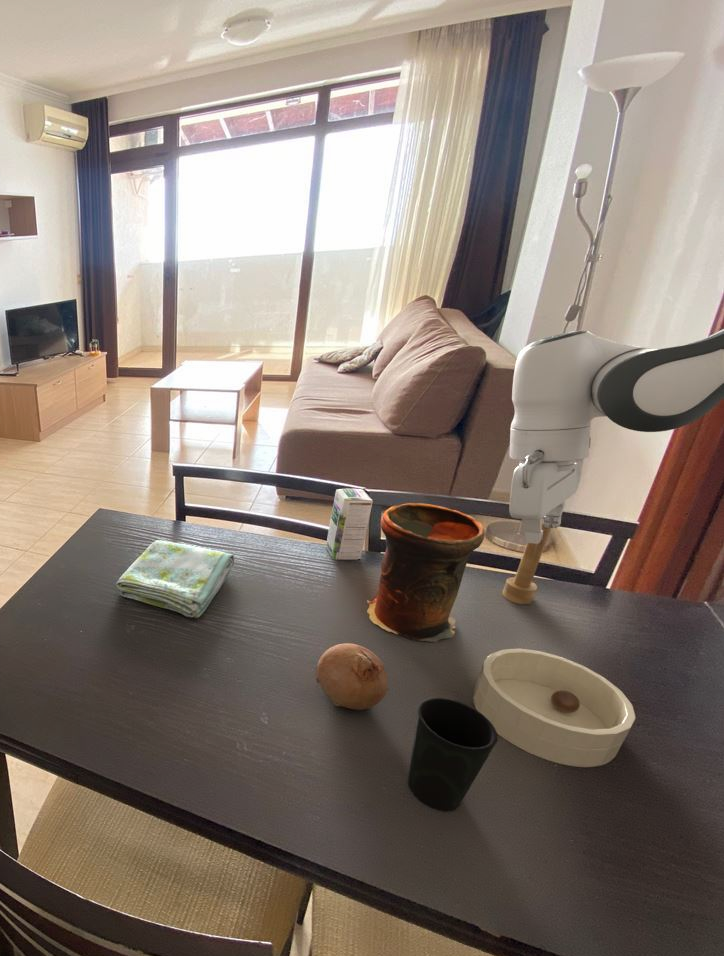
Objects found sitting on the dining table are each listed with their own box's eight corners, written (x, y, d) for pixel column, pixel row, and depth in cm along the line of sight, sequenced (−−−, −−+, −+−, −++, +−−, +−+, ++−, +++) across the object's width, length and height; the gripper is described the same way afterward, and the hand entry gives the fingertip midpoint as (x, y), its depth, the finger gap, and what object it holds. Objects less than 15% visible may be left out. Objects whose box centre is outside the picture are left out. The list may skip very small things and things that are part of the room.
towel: (112, 597, 110) (112, 576, 108) (157, 550, 125) (157, 530, 123) (198, 625, 100) (199, 603, 98) (235, 570, 115) (236, 549, 113)
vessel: (404, 586, 106) (426, 495, 97) (476, 629, 93) (508, 529, 85) (345, 605, 102) (362, 511, 94) (412, 652, 90) (439, 549, 81)
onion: (366, 728, 80) (402, 707, 73) (302, 703, 82) (331, 679, 75) (369, 671, 86) (403, 646, 78) (309, 649, 88) (337, 622, 80)
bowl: (581, 689, 80) (595, 658, 78) (645, 779, 67) (665, 745, 65) (458, 671, 85) (468, 641, 83) (496, 752, 72) (508, 720, 69)
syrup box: (324, 546, 121) (334, 488, 115) (352, 546, 120) (363, 488, 114) (332, 560, 116) (343, 499, 110) (362, 560, 115) (374, 499, 109)
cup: (391, 794, 68) (410, 726, 63) (406, 754, 73) (425, 687, 68) (464, 832, 63) (492, 762, 58) (476, 787, 68) (502, 718, 63)
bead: (569, 703, 77) (576, 687, 76) (580, 719, 75) (587, 703, 74) (544, 699, 78) (550, 684, 77) (553, 715, 76) (560, 699, 75)
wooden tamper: (526, 591, 102) (553, 517, 95) (536, 605, 98) (565, 528, 91) (498, 589, 103) (523, 515, 96) (507, 602, 99) (533, 526, 92)
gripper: (556, 458, 72) (550, 556, 75) (594, 435, 83) (587, 521, 86) (497, 457, 77) (494, 548, 80) (540, 436, 89) (536, 516, 91)
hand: (542, 534), depth 83 cm, fingers open, 8 cm apart
